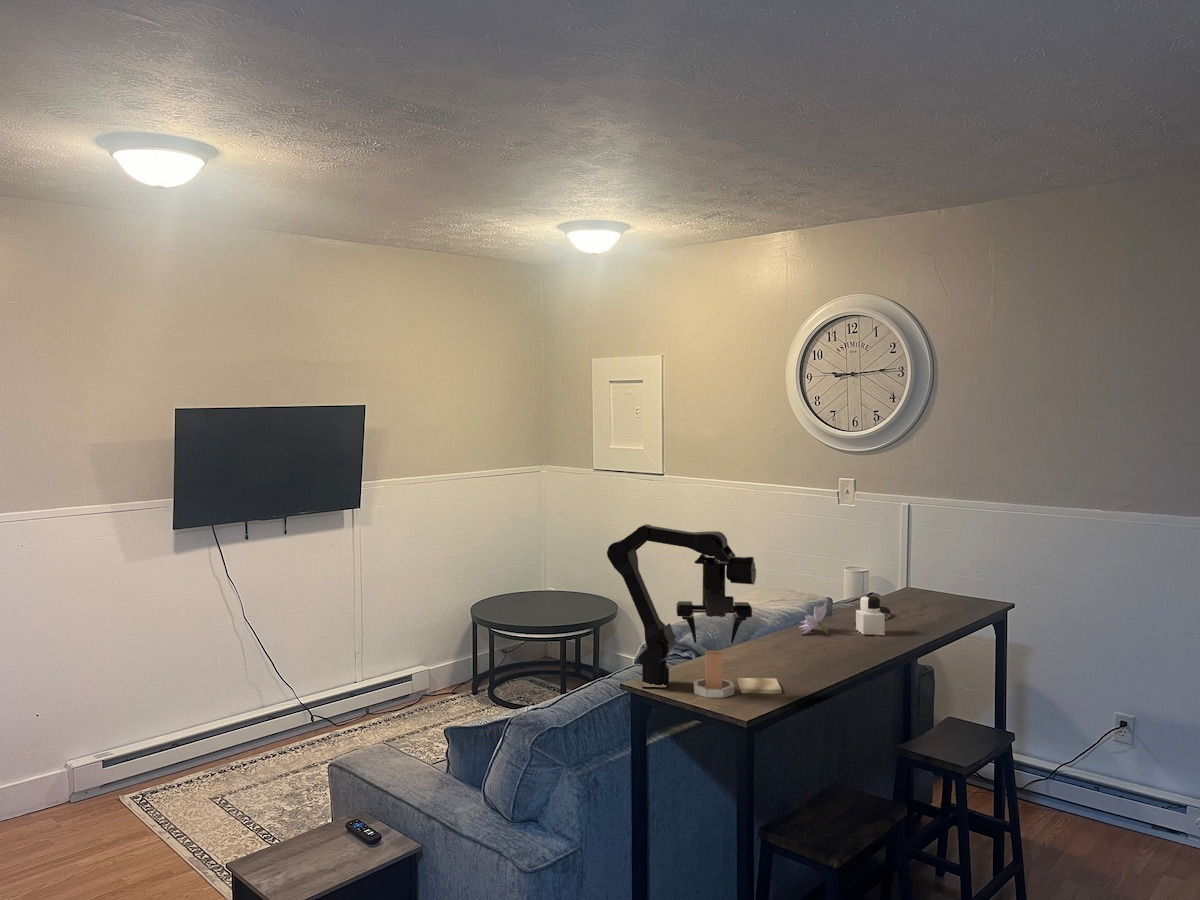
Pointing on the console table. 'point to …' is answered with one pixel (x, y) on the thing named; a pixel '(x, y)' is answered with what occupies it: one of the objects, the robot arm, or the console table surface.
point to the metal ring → (714, 689)
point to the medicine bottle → (870, 616)
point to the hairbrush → (884, 610)
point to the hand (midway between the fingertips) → (713, 642)
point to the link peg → (713, 669)
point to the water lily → (814, 619)
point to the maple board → (759, 685)
